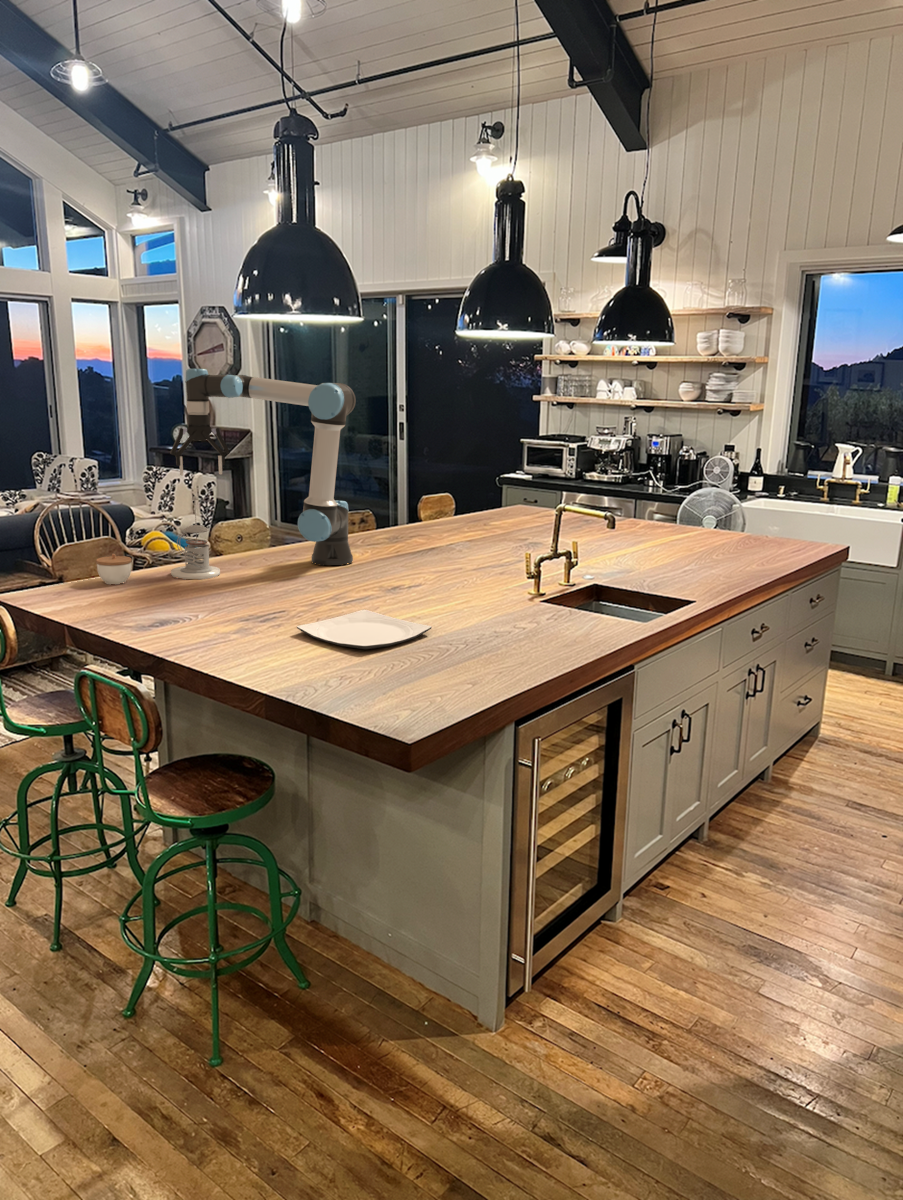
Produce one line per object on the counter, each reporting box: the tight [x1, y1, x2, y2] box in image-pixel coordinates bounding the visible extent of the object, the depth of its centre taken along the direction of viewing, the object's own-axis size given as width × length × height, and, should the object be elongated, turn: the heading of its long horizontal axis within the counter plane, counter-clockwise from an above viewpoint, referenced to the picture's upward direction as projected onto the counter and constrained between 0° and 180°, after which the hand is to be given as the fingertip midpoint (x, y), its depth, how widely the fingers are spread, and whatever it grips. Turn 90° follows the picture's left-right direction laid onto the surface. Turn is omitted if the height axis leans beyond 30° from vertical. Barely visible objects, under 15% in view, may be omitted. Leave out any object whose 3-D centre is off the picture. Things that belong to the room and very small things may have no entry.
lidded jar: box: [95, 553, 133, 585], centre depth 296 cm, size 11×11×9 cm
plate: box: [296, 609, 432, 650], centre depth 247 cm, size 29×29×3 cm
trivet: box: [170, 565, 221, 580], centre depth 311 cm, size 16×16×2 cm
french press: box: [176, 495, 213, 573], centre depth 308 cm, size 10×12×25 cm
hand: (201, 474), depth 327 cm, fingers open, 13 cm apart
